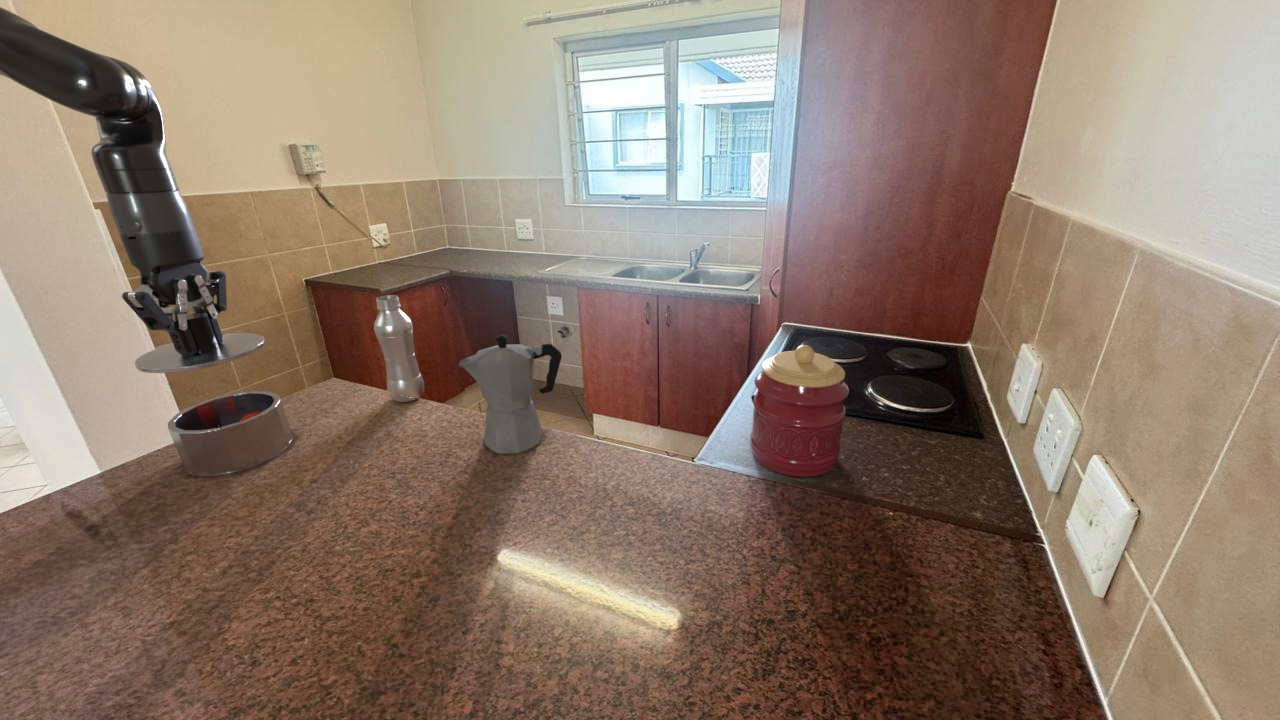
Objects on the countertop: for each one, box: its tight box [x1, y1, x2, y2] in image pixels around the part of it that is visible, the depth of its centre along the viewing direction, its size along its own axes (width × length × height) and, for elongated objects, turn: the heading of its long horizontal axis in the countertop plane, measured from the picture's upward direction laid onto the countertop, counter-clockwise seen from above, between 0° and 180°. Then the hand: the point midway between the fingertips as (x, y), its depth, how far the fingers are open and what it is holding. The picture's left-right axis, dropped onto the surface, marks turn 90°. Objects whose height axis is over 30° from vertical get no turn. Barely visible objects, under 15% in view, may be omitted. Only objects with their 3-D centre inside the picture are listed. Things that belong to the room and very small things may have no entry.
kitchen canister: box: [749, 344, 850, 478], centre depth 73 cm, size 13×13×18 cm
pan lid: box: [134, 312, 266, 374], centre depth 72 cm, size 15×15×6 cm
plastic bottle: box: [373, 294, 425, 403], centre depth 92 cm, size 6×7×20 cm
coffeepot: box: [458, 334, 563, 455], centre depth 78 cm, size 15×9×18 cm, turn 112°
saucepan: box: [167, 390, 294, 478], centre depth 78 cm, size 14×14×8 cm
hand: (202, 348), depth 73 cm, fingers closed on pan lid, 3 cm apart
